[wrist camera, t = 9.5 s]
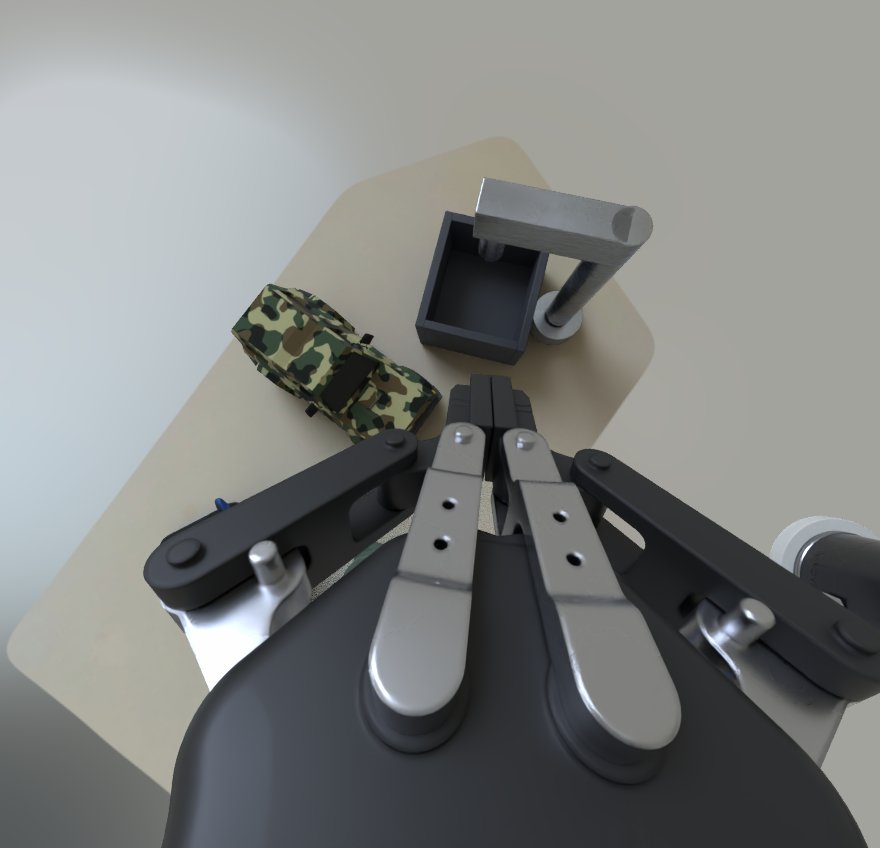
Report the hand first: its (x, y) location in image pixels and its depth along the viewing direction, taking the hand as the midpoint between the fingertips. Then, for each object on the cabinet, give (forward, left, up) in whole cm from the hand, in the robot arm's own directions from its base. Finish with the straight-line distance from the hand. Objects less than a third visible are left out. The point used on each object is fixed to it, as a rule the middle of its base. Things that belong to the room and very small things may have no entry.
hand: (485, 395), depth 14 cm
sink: (+2, -14, -24) cm, 27 cm away
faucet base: (-7, -14, -24) cm, 28 cm away
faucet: (-2, -13, -21) cm, 25 cm away
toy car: (+13, -2, -24) cm, 27 cm away
